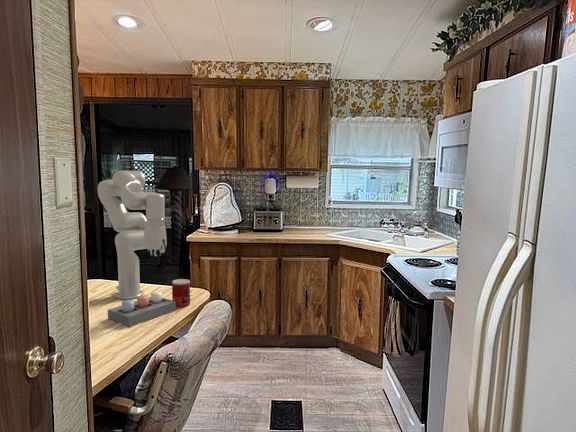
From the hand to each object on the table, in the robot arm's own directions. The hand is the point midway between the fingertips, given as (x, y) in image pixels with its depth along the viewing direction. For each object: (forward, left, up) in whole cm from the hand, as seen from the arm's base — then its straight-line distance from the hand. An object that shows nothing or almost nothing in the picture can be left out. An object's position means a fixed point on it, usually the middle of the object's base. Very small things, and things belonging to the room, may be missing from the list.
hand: (155, 264), depth 165 cm
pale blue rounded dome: (0, -14, -17) cm, 22 cm away
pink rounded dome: (0, -7, -17) cm, 19 cm away
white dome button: (0, 0, -17) cm, 17 cm away
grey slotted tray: (0, -7, -20) cm, 21 cm away
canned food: (+3, +11, -20) cm, 23 cm away
